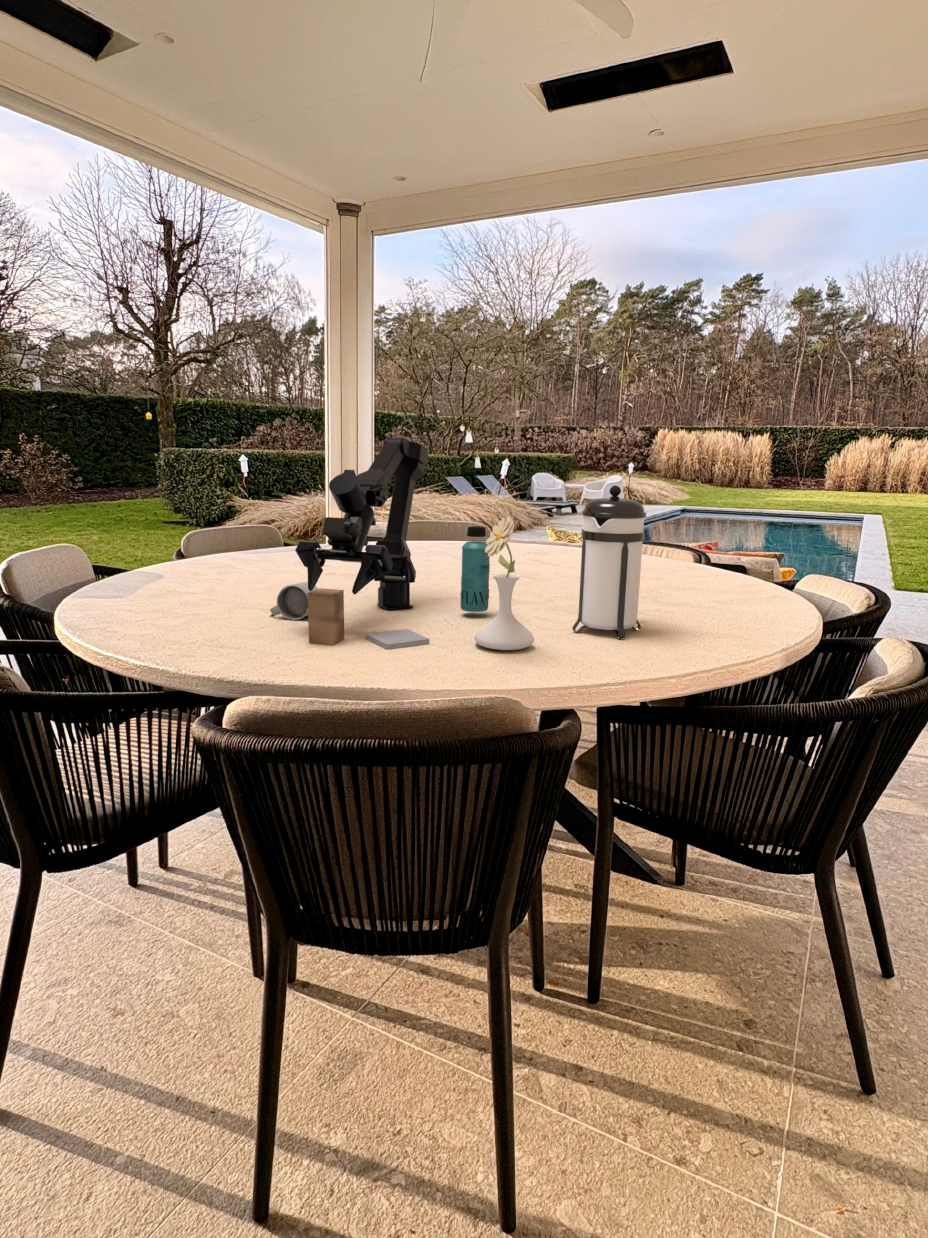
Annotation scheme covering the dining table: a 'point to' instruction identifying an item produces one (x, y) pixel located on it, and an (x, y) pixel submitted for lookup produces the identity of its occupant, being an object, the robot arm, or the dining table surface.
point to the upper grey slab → (397, 639)
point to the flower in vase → (503, 599)
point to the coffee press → (610, 563)
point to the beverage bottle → (475, 573)
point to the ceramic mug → (293, 601)
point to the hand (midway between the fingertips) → (331, 591)
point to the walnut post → (326, 616)
